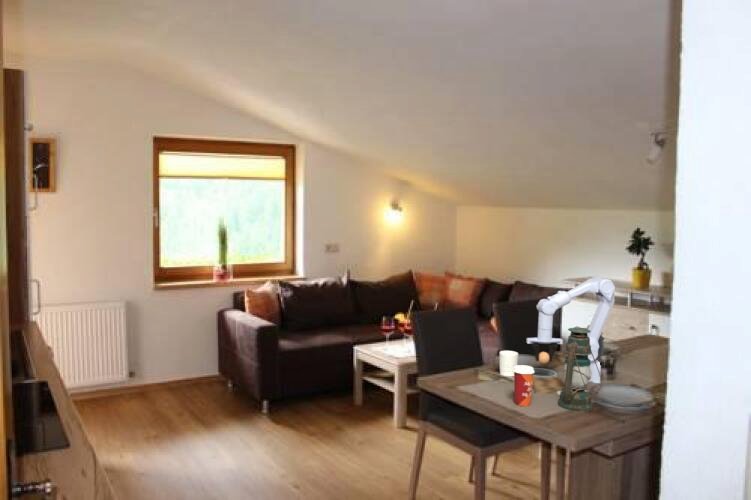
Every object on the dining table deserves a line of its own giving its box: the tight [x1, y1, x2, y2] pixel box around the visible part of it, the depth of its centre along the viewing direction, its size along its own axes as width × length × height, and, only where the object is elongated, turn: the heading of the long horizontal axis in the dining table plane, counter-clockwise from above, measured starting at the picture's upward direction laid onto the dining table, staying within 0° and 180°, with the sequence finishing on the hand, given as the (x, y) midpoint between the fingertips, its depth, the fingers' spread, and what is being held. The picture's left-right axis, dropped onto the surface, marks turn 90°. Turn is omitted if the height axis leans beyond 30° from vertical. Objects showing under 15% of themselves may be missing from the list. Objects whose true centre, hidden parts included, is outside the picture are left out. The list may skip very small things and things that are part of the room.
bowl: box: [533, 367, 558, 378], centre depth 280 cm, size 13×13×3 cm
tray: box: [532, 376, 565, 395], centre depth 267 cm, size 14×14×2 cm
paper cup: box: [513, 364, 535, 407], centre depth 247 cm, size 8×8×14 cm
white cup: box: [499, 350, 519, 377], centre depth 284 cm, size 8×8×10 cm
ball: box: [538, 351, 550, 365], centre depth 276 cm, size 5×5×5 cm
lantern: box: [557, 325, 603, 412], centre depth 245 cm, size 19×14×30 cm
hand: (543, 360), depth 276 cm, fingers closed on ball, 5 cm apart
